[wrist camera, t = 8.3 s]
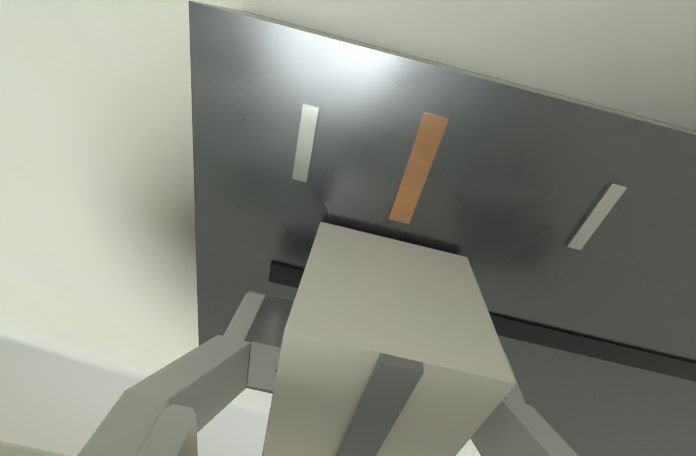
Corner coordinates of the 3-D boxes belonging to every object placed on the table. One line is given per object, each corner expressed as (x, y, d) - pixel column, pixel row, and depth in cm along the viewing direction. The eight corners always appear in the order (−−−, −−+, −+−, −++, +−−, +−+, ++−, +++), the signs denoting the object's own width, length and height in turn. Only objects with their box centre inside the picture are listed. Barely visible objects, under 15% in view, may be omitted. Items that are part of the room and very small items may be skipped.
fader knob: (467, 257, 9) (520, 393, 6) (412, 362, 12) (424, 501, 8) (320, 221, 9) (281, 339, 6) (296, 335, 12) (259, 466, 8)
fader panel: (1074, 231, 11) (1304, 296, 8) (724, 438, 18) (784, 509, 15) (240, 10, 10) (186, 0, 7) (227, 325, 17) (198, 379, 14)
